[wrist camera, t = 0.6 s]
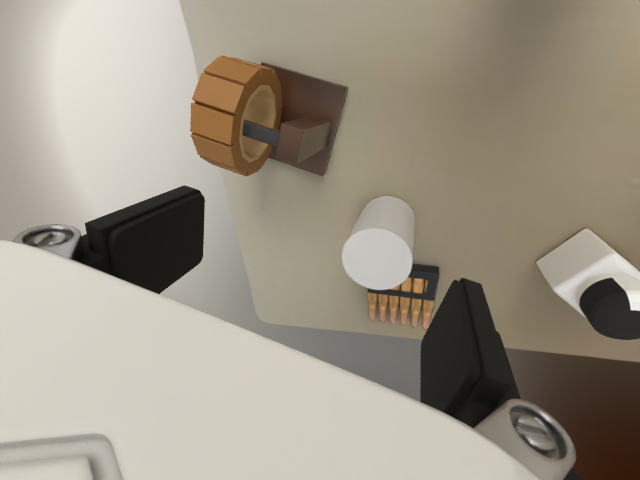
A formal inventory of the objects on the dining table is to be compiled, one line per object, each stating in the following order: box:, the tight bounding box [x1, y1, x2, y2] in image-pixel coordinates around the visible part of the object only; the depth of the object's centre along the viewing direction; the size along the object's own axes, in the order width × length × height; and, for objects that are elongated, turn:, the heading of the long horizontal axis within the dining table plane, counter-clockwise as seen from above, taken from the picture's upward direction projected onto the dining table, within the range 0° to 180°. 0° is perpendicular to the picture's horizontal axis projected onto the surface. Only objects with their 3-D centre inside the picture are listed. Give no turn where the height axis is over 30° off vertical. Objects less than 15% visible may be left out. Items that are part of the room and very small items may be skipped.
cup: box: [342, 196, 415, 290], centre depth 41 cm, size 8×8×12 cm
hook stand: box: [242, 62, 348, 176], centre depth 38 cm, size 12×13×13 cm
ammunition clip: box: [368, 265, 439, 330], centre depth 50 cm, size 11×2×12 cm
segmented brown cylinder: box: [190, 56, 282, 176], centre depth 36 cm, size 12×5×12 cm, turn 166°
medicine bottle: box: [536, 228, 640, 340], centre depth 35 cm, size 7×7×12 cm
